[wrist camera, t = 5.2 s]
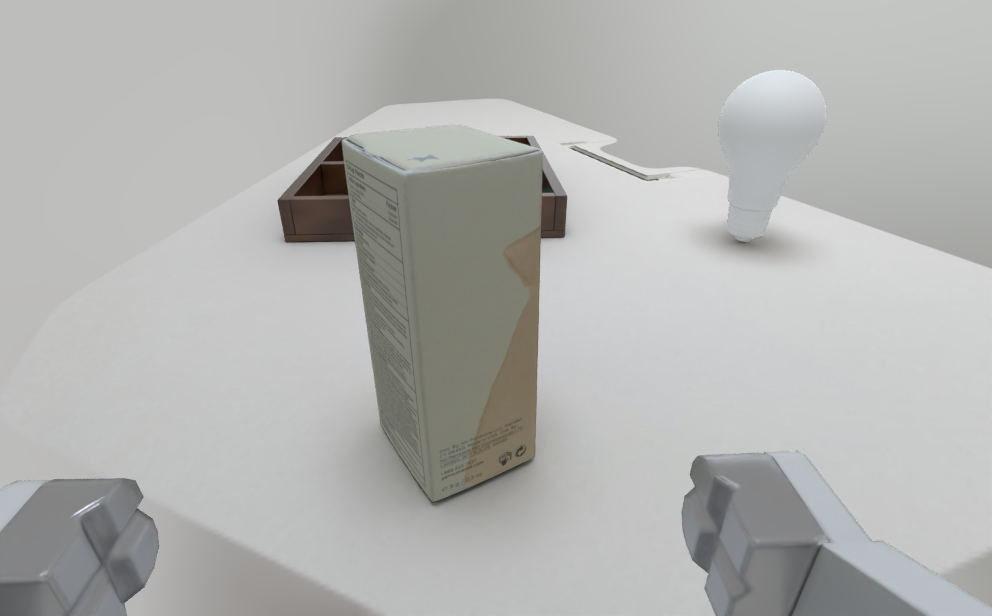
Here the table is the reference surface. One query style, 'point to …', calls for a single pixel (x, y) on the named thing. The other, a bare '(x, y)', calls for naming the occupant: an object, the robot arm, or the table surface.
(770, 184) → the lightbulb
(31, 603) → the robot arm
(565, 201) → the grid
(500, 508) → the table surface
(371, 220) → the box
